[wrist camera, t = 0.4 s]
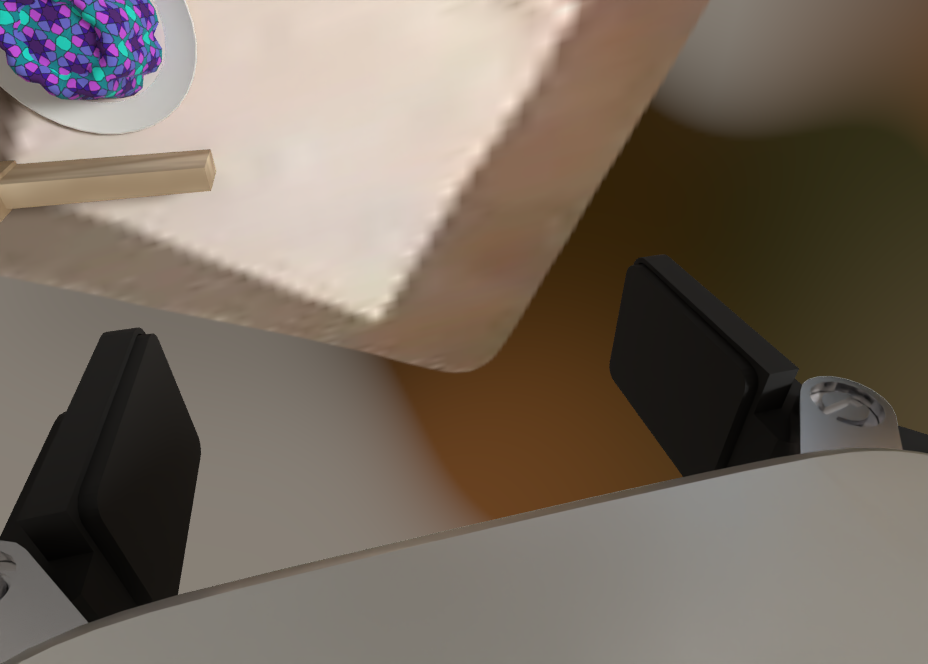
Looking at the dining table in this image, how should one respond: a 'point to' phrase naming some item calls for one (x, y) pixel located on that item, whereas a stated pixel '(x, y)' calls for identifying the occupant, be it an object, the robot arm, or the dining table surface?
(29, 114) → the dining table surface
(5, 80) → the pudding
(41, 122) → the dining table surface
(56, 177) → the pair of beige bars
